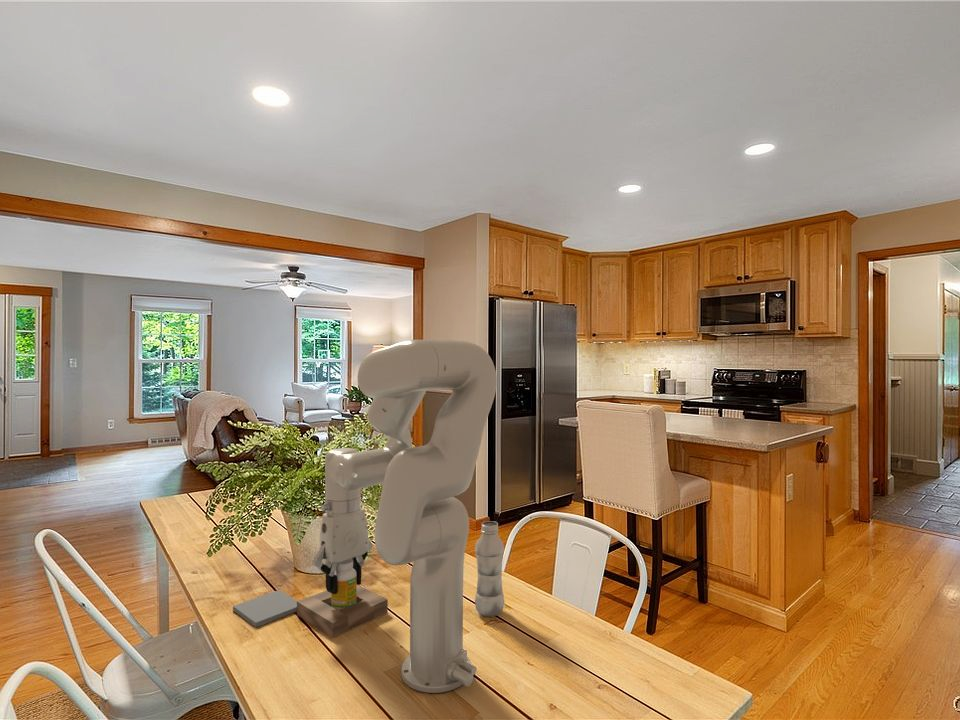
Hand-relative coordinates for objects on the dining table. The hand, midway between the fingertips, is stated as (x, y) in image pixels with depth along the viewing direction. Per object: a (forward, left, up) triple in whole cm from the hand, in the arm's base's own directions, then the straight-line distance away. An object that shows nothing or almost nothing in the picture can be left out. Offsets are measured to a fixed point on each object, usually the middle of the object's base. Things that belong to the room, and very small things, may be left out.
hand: (344, 586), depth 116 cm
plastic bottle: (-23, -22, -6) cm, 33 cm away
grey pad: (+15, +10, -6) cm, 19 cm away
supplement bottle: (0, 0, -4) cm, 4 cm away
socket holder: (+1, 0, -6) cm, 6 cm away
